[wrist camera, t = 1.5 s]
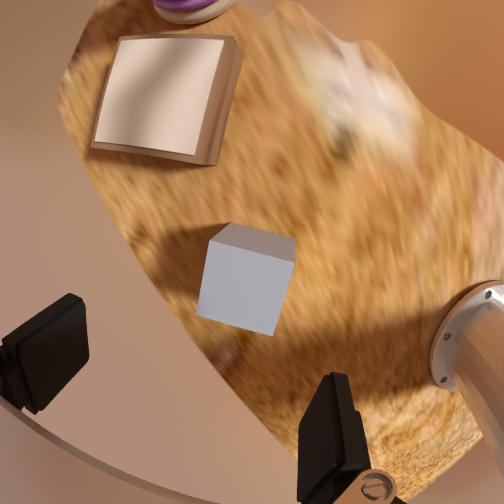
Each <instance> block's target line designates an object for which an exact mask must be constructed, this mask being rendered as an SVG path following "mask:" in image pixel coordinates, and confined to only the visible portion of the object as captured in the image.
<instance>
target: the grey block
mask: <svg viewBox="0 0 504 504" xmlns="http://www.w3.org/2000/svg"><path fill="white" fill-rule="evenodd" d="M294 265H295V239H294V238H290V237H286V236H282V235H279V234H275V233H271V232H267V231H263V230H259V229H255V228H252V227H248V226H244V225H240V224H236V223H232V222H231V223H230V224H228V225H227V226H226V227H225V228H224V229H222V230H221V231H220V232H219V233H218V234H216V235H215V236H214V237H213V238H212V239H210V240H209V245H208V251H207V256H206V261H205V267H204V272H203V278H202V284H201V289H200V295H199V301H198V307H197V313H196V315H198V316H201V317H205V318H208V319H211V320H215V321H218V322H222V323H225V324H228V325H232V326H236V327H239V328H243V329H246V330H250V331H254V332H258V333H261V334H265V335H269V336H273V334H274V331H275V328H276V325H277V321H278V318H279V315H280V312H281V309H282V305H283V302H284V299H285V296H286V292H287V289H288V286H289V282H290V279H291V275H292V272H293V269H294Z"/></svg>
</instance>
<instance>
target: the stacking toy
mask: <svg viewBox="0 0 504 504" xmlns="http://www.w3.org/2000/svg"><path fill="white" fill-rule="evenodd" d="M150 1H151V2H152V3H153V6H154V9H155V10H156V12H157V13H158V14H159V15H160V16H161V17H162V18H163V19H165V20H167V21H169V22H172V23H176V24H195V23H201V22H204V21H207V20H210V19H213V18H215V17H217V16H219V15H221V14H222V13H224V12H225V11H227V10H228V9H229V8H230V7H231V6H232V5H233V4H234V3H235V2H236V1H237V0H150Z"/></svg>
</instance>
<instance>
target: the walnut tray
mask: <svg viewBox="0 0 504 504" xmlns="http://www.w3.org/2000/svg"><path fill="white" fill-rule="evenodd" d="M243 58H244V57H243V55H242V53H241V51H240V48H239V46H238V44H237V42H236V40H235V38H234V36H224V35H209V34H149V35H134V36H123V37H119V40H118V43H117V46H116V49H115V52H114V55H113V58H112V61H111V64H110V67H109V71H108V74H107V77H106V81H105V84H104V88H103V92H102V96H101V100H100V104H99V108H98V112H97V117H96V121H95V126H94V131H93V136H92V141H91V148H100V149H108V150H115V151H123V152H130V153H136V154H143V155H149V156H155V157H161V158H167V159H173V160H179V161H184V162H190V163H195V164H200V165H216V166H217V162H218V158H219V153H220V149H221V145H222V140H223V136H224V132H225V128H226V123H227V119H228V115H229V111H230V107H231V103H232V99H233V95H234V92H235V88H236V84H237V80H238V76H239V73H240V69H241V65H242V62H243Z"/></svg>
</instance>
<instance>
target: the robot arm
mask: <svg viewBox="0 0 504 504" xmlns="http://www.w3.org/2000/svg"><path fill="white" fill-rule="evenodd" d="M2 343H3V345H1V346H0V504H219V503H214V502H210V501H206V500H203V499H199V498H195V497H192V496H188V495H185V494H182V493H179V492H175V491H172V490H169V489H166V488H163V487H161V486H158V485H155V484H153V483H150V482H147V481H145V480H142V479H140V478H137V477H135V476H132V475H130V474H128V473H125V472H123V471H121V470H119V469H117V468H114V467H112V466H110V465H108V464H106V463H104V462H102V461H100V460H98V459H96V458H94V457H92V456H90V455H88V454H86V453H85V452H83V451H81V450H79V449H77V448H76V447H74V446H72V445H71V444H69V443H67V442H65V441H64V440H62V439H60V438H59V437H57V436H56V435H54V434H52V433H51V432H49V431H48V430H46V429H45V428H43V427H42V426H40V425H39V424H37V423H36V422H35V421H33V420H32V419H30V418H29V417H28V416H26V415H25V414H24V413H22V408H23V407H24V406H25V408H26V409H27V410H29V411H30V412H31V413H33V414H34V415H36V414H37V413H38V411H39V410H40V411H42V410H43V409H45V407H46V406H47V405H48V404H49V403H50V402H51V401H52V400H53V399H54V397H55V396H56V395H57V394H58V393H59V392H60V391H61V390H62V389H63V388H64V386H66V384H67V383H68V382H69V381H70V380H71V379H72V378H73V377H74V376H75V375H76V374H77V372H79V370H80V369H81V368H82V367H83V366H84V365H85V364H86V363H87V362H88V359H89V346H88V337H87V323H86V307H85V303H83V300H82V298H80V297H78V296H76V295H74V294H71V293H68V294H66V295H65V296H63V297H62V298H60V299H59V300H57V301H56V302H54V303H53V304H51V305H50V306H48V307H47V308H45V309H44V310H43V311H41V312H39V313H38V314H37V315H35V316H34V317H32V318H31V319H29V320H28V321H26V322H25V323H24V324H22V325H21V326H19V327H18V328H17V329H15V330H14V331H12V332H11V333H10V334H8V335H7V336H5V337H4V338H3V339H2ZM429 365H430V371H431V373H432V375H433V377H434V380H435V381H436V383H437V384H438V385H439V386H440V387H442V388H443V389H445V390H448V391H454V392H459V391H460V393H461V395H462V397H463V398H464V400H465V402H466V404H467V405H468V407H469V409H470V411H471V413H472V415H473V416H474V418H475V420H476V422H477V424H478V426H479V428H480V430H481V432H482V434H483V436H484V438H485V439H486V442H487V444H488V446H489V448H490V450H491V452H492V454H493V456H494V458H495V460H496V463H497V465H498V467H499V469H500V472H501V474H502V476H503V478H504V281H491V282H487V283H484V284H482V285H480V286H478V287H476V288H475V289H473V290H472V291H470V292H469V293H467V294H466V295H465V296H464V297H463V298H462V299H461V300H459V301H458V302H457V304H456V305H455V306H454V307H453V308H452V309H451V310H450V312H449V313H448V315H447V316H446V317H445V319H444V320H443V322H442V323H441V325H440V327H439V329H438V331H437V333H436V335H435V338H434V340H433V343H432V346H431V351H430V357H429ZM396 493H397V485H396V482H395V480H394V479H393V477H392V476H391V475H390V474H388V473H387V472H385V471H383V470H379V469H371V463H370V458H369V453H368V447H367V442H366V437H365V433H364V428H363V423H362V418H361V415H360V412H359V411H356V410H355V408H354V404H353V399H352V394H351V390H350V385H349V381H348V377H347V375H346V374H342V373H336V372H331V373H330V374H329V375H325V376H324V377H323V379H322V381H321V383H320V385H319V387H318V389H317V391H316V393H315V395H314V397H313V399H312V401H311V403H310V404H309V406H308V408H307V410H306V412H305V414H304V416H303V418H302V419H301V421H300V424H299V430H298V480H297V501H298V502H301V504H407V503H405V502H404V501H402V500H401V499H399V498H398V497H396V496H395V495H396Z"/></svg>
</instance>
